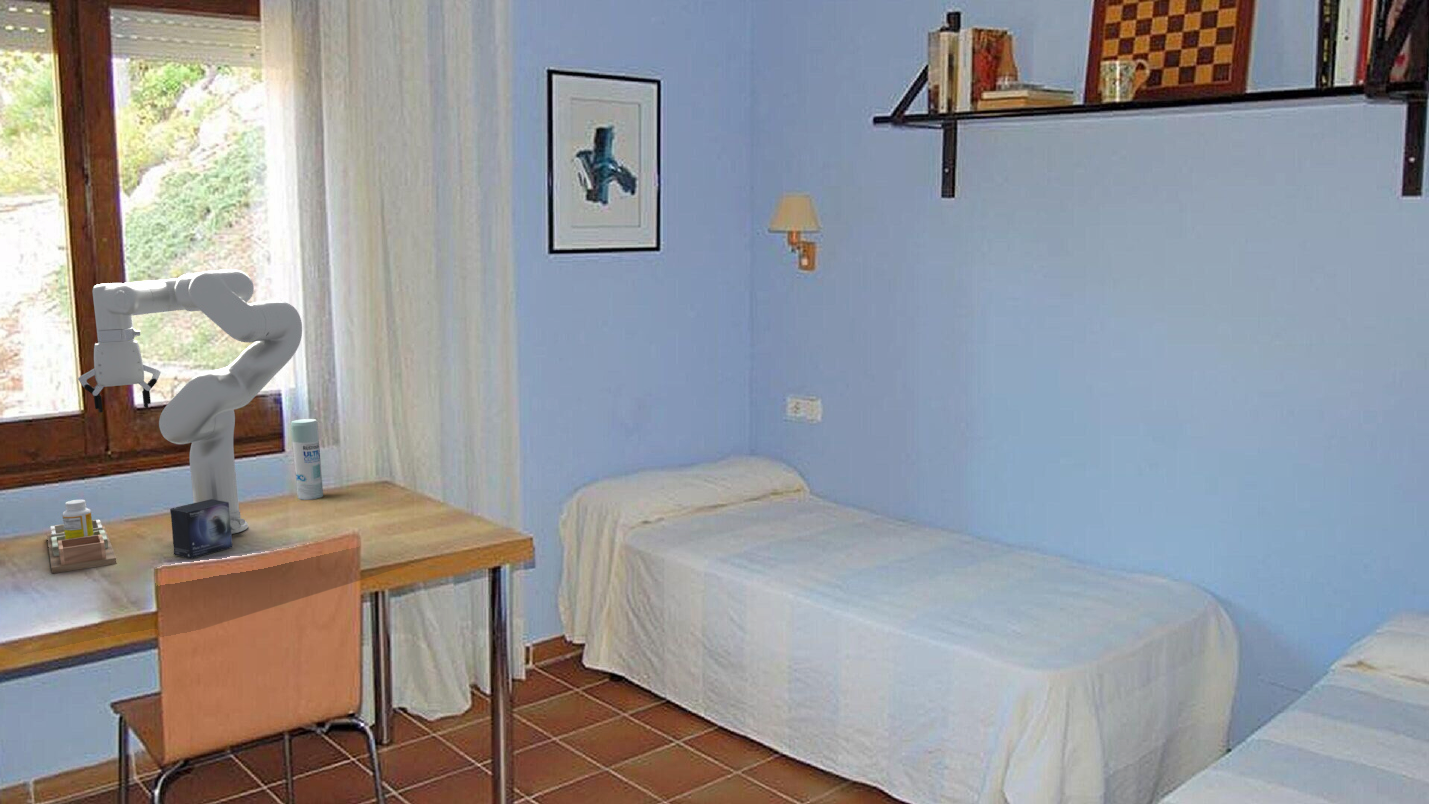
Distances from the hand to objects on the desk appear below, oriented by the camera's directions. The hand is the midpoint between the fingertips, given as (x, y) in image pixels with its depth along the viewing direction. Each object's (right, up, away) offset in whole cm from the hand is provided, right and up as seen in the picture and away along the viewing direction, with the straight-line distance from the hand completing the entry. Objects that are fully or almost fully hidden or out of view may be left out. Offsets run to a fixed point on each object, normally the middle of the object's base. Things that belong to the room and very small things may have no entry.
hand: (123, 409), depth 284 cm
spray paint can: (+34, -23, +31) cm, 51 cm away
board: (-2, -31, -16) cm, 35 cm away
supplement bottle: (-1, -30, -17) cm, 35 cm away
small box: (+27, -31, -20) cm, 46 cm away
